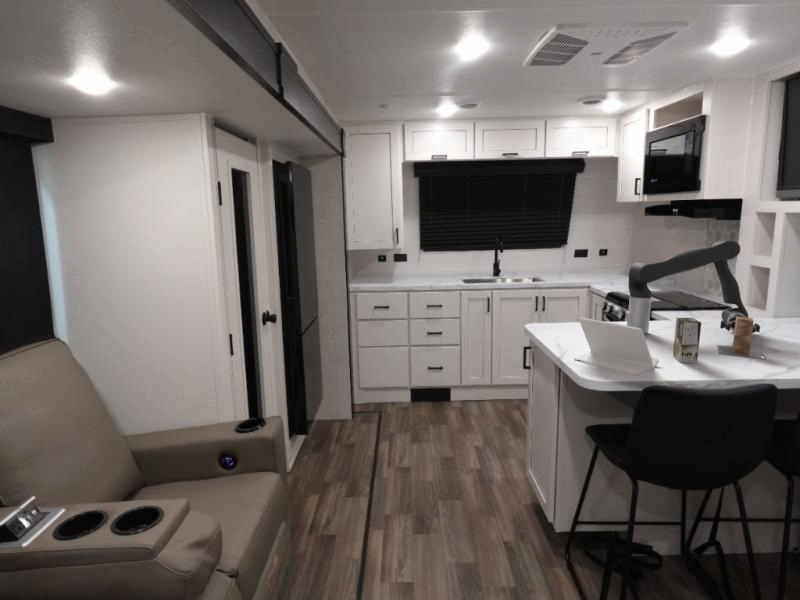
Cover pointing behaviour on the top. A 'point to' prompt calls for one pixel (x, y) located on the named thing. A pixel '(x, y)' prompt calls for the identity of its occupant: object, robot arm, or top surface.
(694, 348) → the coffee box
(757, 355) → the tile
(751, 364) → the top surface
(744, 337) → the brown wooden block
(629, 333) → the white laptop
